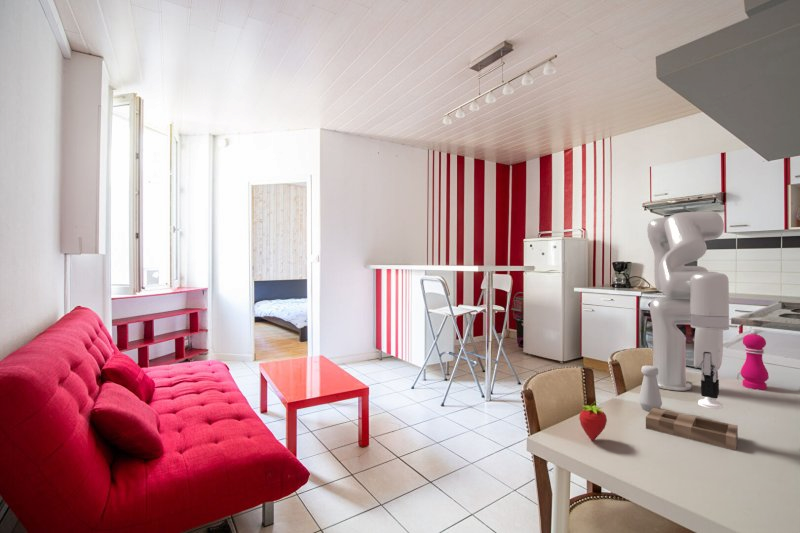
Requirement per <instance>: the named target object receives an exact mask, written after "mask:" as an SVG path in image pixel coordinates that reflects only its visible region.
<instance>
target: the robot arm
mask: <svg viewBox="0 0 800 533" xmlns="http://www.w3.org/2000/svg"><path fill="white" fill-rule="evenodd" d="M724 229H725V222H724V220H723V217H722V215H720V214H719V213H718V212H716V211H712V210H707V211H706V210H704V211H690V212H689V211H688V212H686V211H685V212H678V213H674V214H671V215H669V216H666V217H658V218H655V219H652V220H650V221H648V223H647V228H646V230H647V238H648V241H649V243H650V246H651V248H652V252H653V258H654V261H653V262H654V268H653V269H654V273H653V274H654V275H653V276H654V286H655V289H656V290H657V292H658V291H659V292H660V293H663V294H664V296H659V297H655V298H653V299H651V301H650V302H649V312H650V318H651V325H652V357H653V358H652V363H653V364H652V366H654V367H656V368H657V369H658V371H659V372H658V375H656V378H657V382H658V387H659V389H664V390H669V391H680V392H683V391H690V390H691V389H692V384H691V383H690V382H687V381H686V380H687V377H686V376H687V375H686V374H687V373H686V370H687V369H686V368H687V366H686V364H687V363H686V361H687V360H686V359H687V358H686V357H687V354H686V342H687V341H686V336H685V334H684V332H682V331H681V329H679V327H678V326H677V325H690V328H692V329H695V331H694V344H693V348H694V351H693V367H694V368H695V369H698V367H700V366H701V379H700V396H701V397H704V398H705V397H710V398H715V399H716V400H717V399H718V397H719V394H720V381H719V379H718V378H719V372H718V371H719V370H720V368H721V366H722V362H723V355H724V354H723V352H724V347H723V346H724V332H723V331H730V303H729V302H730V297H729V296H730V287H729V286H730V284H729V283H730V281H729V277H728V276H727V274H725V273H721V272H717V271H709V270H708V269H707V268H706V267H704V266H698V265H687V264H690V263H694V262H695V261H698V260H699V259H701V258H702V257H703V256H705V254H706V252H707V250H708V248H707V244H706V241H712V240H716V239H719V238H720V237H721V236H722V234H723V233H724ZM711 368H712V369H711Z"/></svg>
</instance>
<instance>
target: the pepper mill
mask: <svg viewBox="0 0 800 533" xmlns="http://www.w3.org/2000/svg"><path fill="white" fill-rule="evenodd" d="M742 344H743V345H744V346H745V347H744V352H745V355H746V357H745V361H744V363H743V365H742V367H741V369H740V376H741V377H742V378H743V380H741V382H742V387H744V388H746V389H750V388H752V389H751V390H756V389H760V390H759V391H765V389H766V390H767V389H768V388H767V387H768V384H767V383H766V382H767V381H768V380H769V372H768V370H767V368H766V366H765V365H764V360H763V355H764V354H765V352H764V351H765V349H764V348H765V347H766V345H767V341H766V339H765V338H764V337H763V336H761V335H759V334H758V331H757V330H756V329H752V330H750V334H746V335H744V337H742Z"/></svg>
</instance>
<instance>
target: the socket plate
mask: <svg viewBox="0 0 800 533" xmlns="http://www.w3.org/2000/svg"><path fill="white" fill-rule="evenodd" d="M645 429H646V430H651V431H655V432H659V433H662V434H663V433H664V434H666V435H667V434H668V435H670V436H675V437H680V438H684V439H688V440H692V441H695V442H699V443H700V442H701V443H703V444H709V445H712V446H715V447H721V448H725V449H728V450H732V451H736V450H737V444H738V438H739V436H738V435H739V432H738V431H739V430H738V429H739V428H738V425H736V424H732V423H727V422H722V421H718V420H713V419H708V418H703V417H699V416H695V415H689V414H686V413H685V414H684V413H679V412H675V411H672V410H671V411H670V410H665V409H661V408H660V409H657V408H652V410H651V411H650V412H648V413H647V414H646V416H645Z"/></svg>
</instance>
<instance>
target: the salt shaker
mask: <svg viewBox="0 0 800 533" xmlns="http://www.w3.org/2000/svg"><path fill="white" fill-rule="evenodd" d="M640 370H641V373H642V375H643V379H642V383H641V388H640V392H639V398H638V402H639V404H640V406H641V408H642V410H643V411H646V412H648V413H649V412H650V411H651V410H652V408H657V409H661V407H662V405H663V401H662V397H661V396H662V395H661V392H660V388H659V387H658V382H657V378H656V375H658V372H659V371H658V369H657V368H656V367H654V366H653V365H650V364H649V365H642V367H641V369H640Z"/></svg>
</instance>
